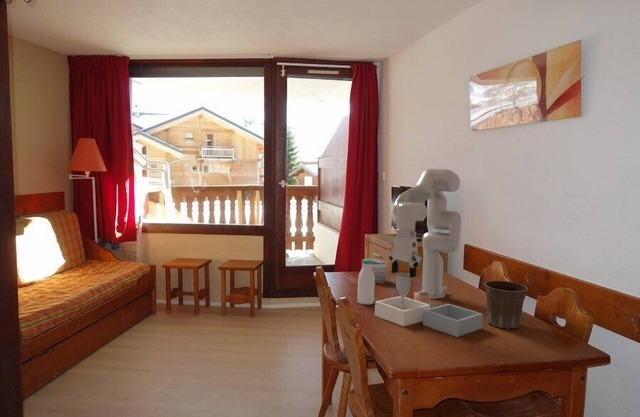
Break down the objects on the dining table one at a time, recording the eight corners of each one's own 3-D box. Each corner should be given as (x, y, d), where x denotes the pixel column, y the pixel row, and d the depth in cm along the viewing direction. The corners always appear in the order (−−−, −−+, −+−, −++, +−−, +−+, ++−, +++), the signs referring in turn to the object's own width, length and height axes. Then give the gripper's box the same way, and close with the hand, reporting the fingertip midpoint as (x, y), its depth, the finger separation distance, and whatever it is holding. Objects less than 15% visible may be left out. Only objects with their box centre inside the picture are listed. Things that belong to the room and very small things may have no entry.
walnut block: (426, 313, 195) (426, 301, 195) (437, 315, 193) (438, 303, 192) (422, 316, 191) (422, 304, 191) (434, 318, 188) (434, 306, 188)
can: (365, 278, 256) (366, 257, 255) (385, 279, 255) (386, 258, 254) (364, 283, 245) (365, 261, 244) (386, 284, 244) (386, 262, 243)
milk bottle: (373, 305, 204) (375, 261, 202) (356, 304, 206) (357, 260, 204) (374, 300, 212) (376, 258, 210) (358, 299, 213) (359, 257, 211)
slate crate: (447, 317, 190) (448, 303, 189) (481, 328, 177) (482, 313, 176) (422, 324, 180) (423, 310, 179) (457, 337, 167) (457, 321, 167)
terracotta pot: (420, 305, 205) (421, 290, 205) (432, 309, 200) (433, 294, 199) (410, 308, 201) (410, 292, 201) (422, 312, 196) (423, 296, 195)
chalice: (391, 314, 192) (393, 272, 190) (407, 314, 192) (409, 272, 191) (396, 320, 184) (398, 276, 183) (412, 320, 185) (414, 276, 184)
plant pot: (526, 334, 172) (529, 292, 171) (481, 328, 178) (484, 287, 176) (523, 321, 188) (526, 283, 186) (482, 316, 193) (484, 279, 192)
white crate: (400, 309, 200) (401, 295, 199) (429, 319, 187) (430, 304, 186) (374, 315, 190) (375, 301, 189) (403, 326, 177) (404, 311, 177)
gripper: (428, 235, 181) (426, 278, 182) (396, 230, 194) (394, 270, 196) (415, 236, 176) (413, 280, 177) (383, 231, 190) (381, 271, 191)
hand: (403, 274), depth 187 cm, fingers open, 9 cm apart
